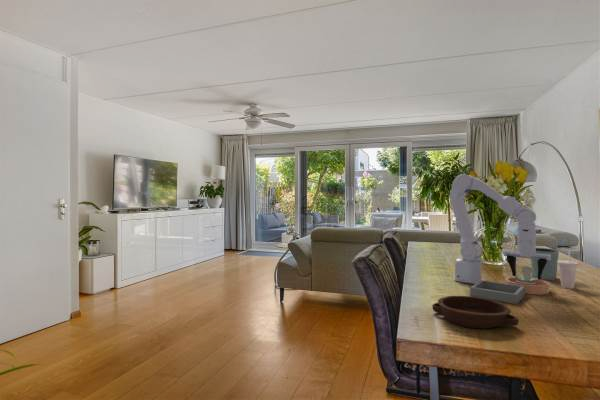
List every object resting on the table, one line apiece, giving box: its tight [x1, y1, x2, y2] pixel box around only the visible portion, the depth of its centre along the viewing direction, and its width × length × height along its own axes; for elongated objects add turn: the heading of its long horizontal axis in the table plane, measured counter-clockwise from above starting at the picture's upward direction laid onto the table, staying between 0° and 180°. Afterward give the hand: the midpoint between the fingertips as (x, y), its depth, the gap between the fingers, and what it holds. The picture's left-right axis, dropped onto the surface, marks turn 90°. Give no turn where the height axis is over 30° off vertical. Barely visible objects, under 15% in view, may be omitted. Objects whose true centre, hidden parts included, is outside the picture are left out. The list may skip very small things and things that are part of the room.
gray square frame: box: [469, 279, 526, 305], centre depth 121 cm, size 14×14×3 cm
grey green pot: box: [530, 247, 560, 281], centre depth 146 cm, size 10×10×12 cm
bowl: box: [504, 276, 551, 295], centre depth 128 cm, size 14×14×3 cm
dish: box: [431, 295, 520, 329], centre depth 97 cm, size 18×22×5 cm
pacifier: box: [514, 265, 538, 285], centre depth 128 cm, size 7×6×6 cm
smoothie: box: [557, 250, 579, 290], centre depth 130 cm, size 6×6×14 cm
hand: (526, 277), depth 128 cm, fingers closed on pacifier, 7 cm apart
